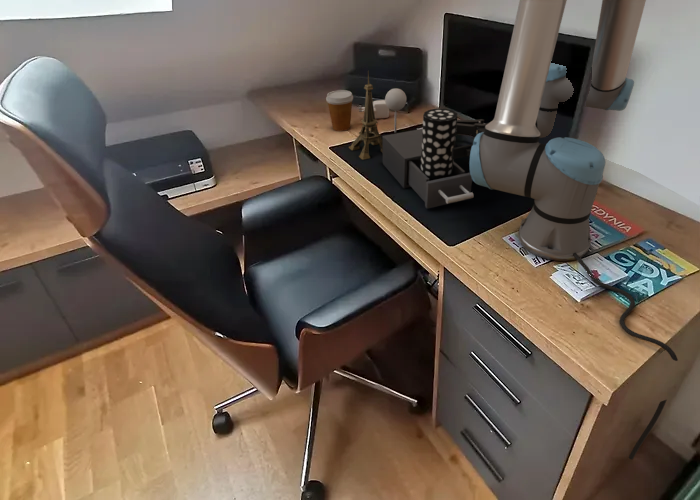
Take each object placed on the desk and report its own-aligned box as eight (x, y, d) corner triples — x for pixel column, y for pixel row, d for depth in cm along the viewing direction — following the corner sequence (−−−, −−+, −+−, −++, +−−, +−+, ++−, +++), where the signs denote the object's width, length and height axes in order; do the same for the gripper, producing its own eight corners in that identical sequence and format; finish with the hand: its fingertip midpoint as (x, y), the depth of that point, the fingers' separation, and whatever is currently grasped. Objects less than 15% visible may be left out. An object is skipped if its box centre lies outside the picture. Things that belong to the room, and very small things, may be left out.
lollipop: (409, 130, 161) (410, 87, 152) (399, 137, 157) (400, 93, 148) (391, 126, 165) (391, 84, 156) (381, 134, 160) (381, 90, 151)
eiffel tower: (362, 160, 145) (359, 78, 130) (348, 147, 152) (344, 69, 137) (392, 152, 148) (392, 72, 133) (377, 140, 156) (376, 63, 141)
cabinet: (447, 179, 132) (450, 149, 127) (403, 188, 129) (404, 158, 124) (422, 155, 145) (424, 128, 139) (382, 163, 142) (382, 135, 136)
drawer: (481, 209, 117) (484, 184, 113) (436, 220, 114) (438, 194, 110) (442, 173, 133) (444, 150, 129) (402, 181, 131) (403, 158, 126)
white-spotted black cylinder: (413, 187, 125) (416, 116, 113) (431, 175, 130) (436, 106, 118) (439, 197, 121) (445, 123, 109) (456, 184, 125) (464, 113, 113)
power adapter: (359, 121, 170) (359, 105, 167) (358, 116, 174) (357, 100, 171) (389, 118, 171) (389, 103, 167) (387, 114, 175) (387, 98, 171)
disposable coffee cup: (338, 120, 172) (336, 88, 164) (359, 125, 167) (358, 92, 160) (322, 129, 166) (320, 96, 158) (344, 134, 161) (342, 100, 154)
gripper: (538, 161, 115) (462, 177, 111) (484, 126, 134) (418, 138, 130) (544, 133, 111) (465, 148, 106) (488, 100, 130) (419, 112, 125)
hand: (439, 143), depth 118 cm, fingers open, 13 cm apart
